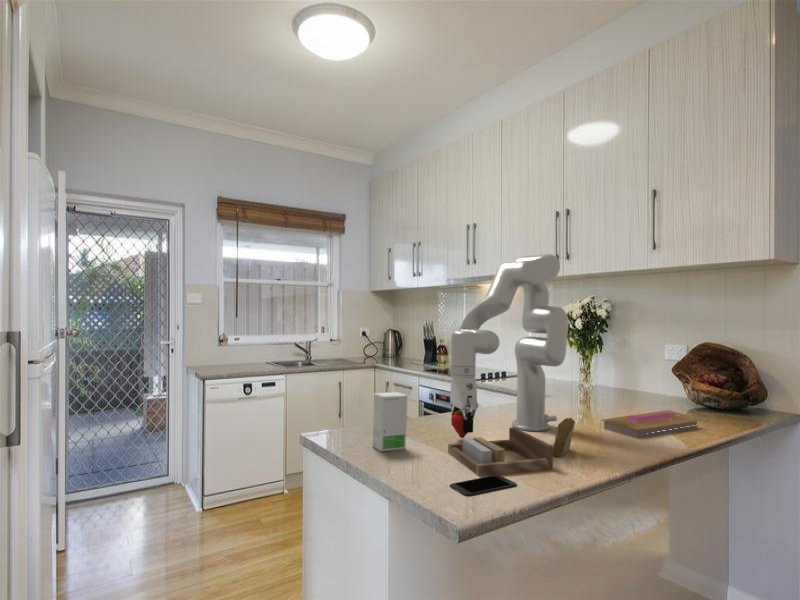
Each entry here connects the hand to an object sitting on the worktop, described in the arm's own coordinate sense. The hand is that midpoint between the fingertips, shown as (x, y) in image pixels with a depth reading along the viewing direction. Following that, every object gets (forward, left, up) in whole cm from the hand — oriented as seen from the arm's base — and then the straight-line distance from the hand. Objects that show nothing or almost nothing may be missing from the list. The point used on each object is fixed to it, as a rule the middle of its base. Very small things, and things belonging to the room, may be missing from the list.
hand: (462, 428), depth 142 cm
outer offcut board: (+4, +18, -4) cm, 19 cm away
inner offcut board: (+1, +18, -4) cm, 19 cm away
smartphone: (+10, +33, -5) cm, 35 cm away
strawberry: (0, 0, -3) cm, 3 cm away
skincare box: (+23, 0, -4) cm, 24 cm away
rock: (-24, +15, -5) cm, 29 cm away
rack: (-2, +18, -4) cm, 19 cm away
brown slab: (-74, -1, -5) cm, 74 cm away
